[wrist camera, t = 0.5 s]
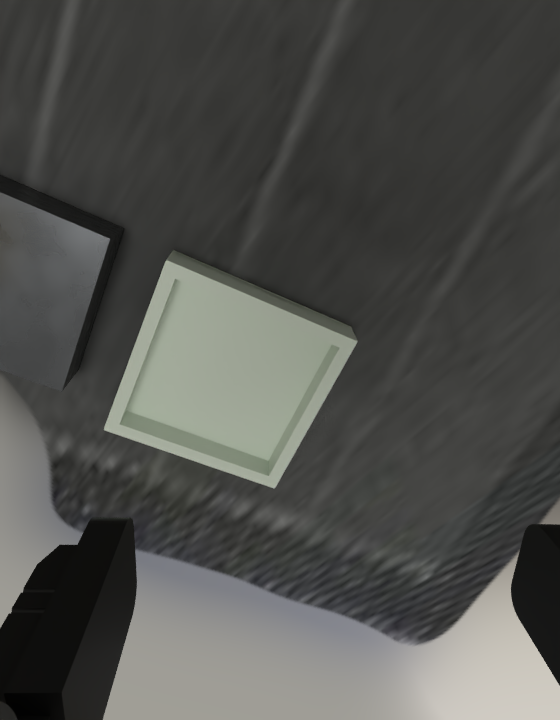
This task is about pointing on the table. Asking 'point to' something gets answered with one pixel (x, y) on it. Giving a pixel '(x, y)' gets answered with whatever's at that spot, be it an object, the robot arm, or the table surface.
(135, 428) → the parts tray
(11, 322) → the grey metal block
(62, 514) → the table surface
